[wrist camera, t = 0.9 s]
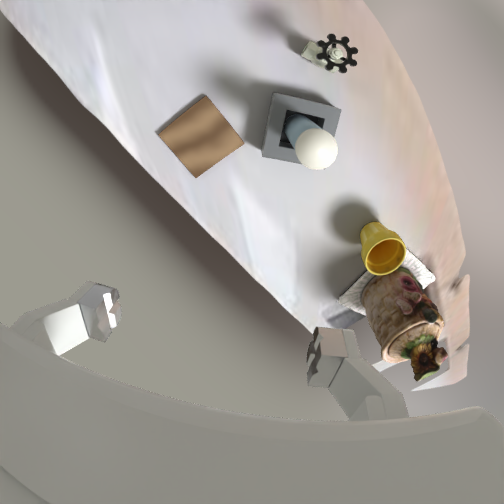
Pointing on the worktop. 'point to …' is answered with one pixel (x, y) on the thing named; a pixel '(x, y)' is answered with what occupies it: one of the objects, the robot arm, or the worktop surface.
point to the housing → (276, 120)
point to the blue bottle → (310, 142)
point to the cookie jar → (401, 315)
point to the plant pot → (381, 249)
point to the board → (201, 137)
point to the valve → (330, 54)
